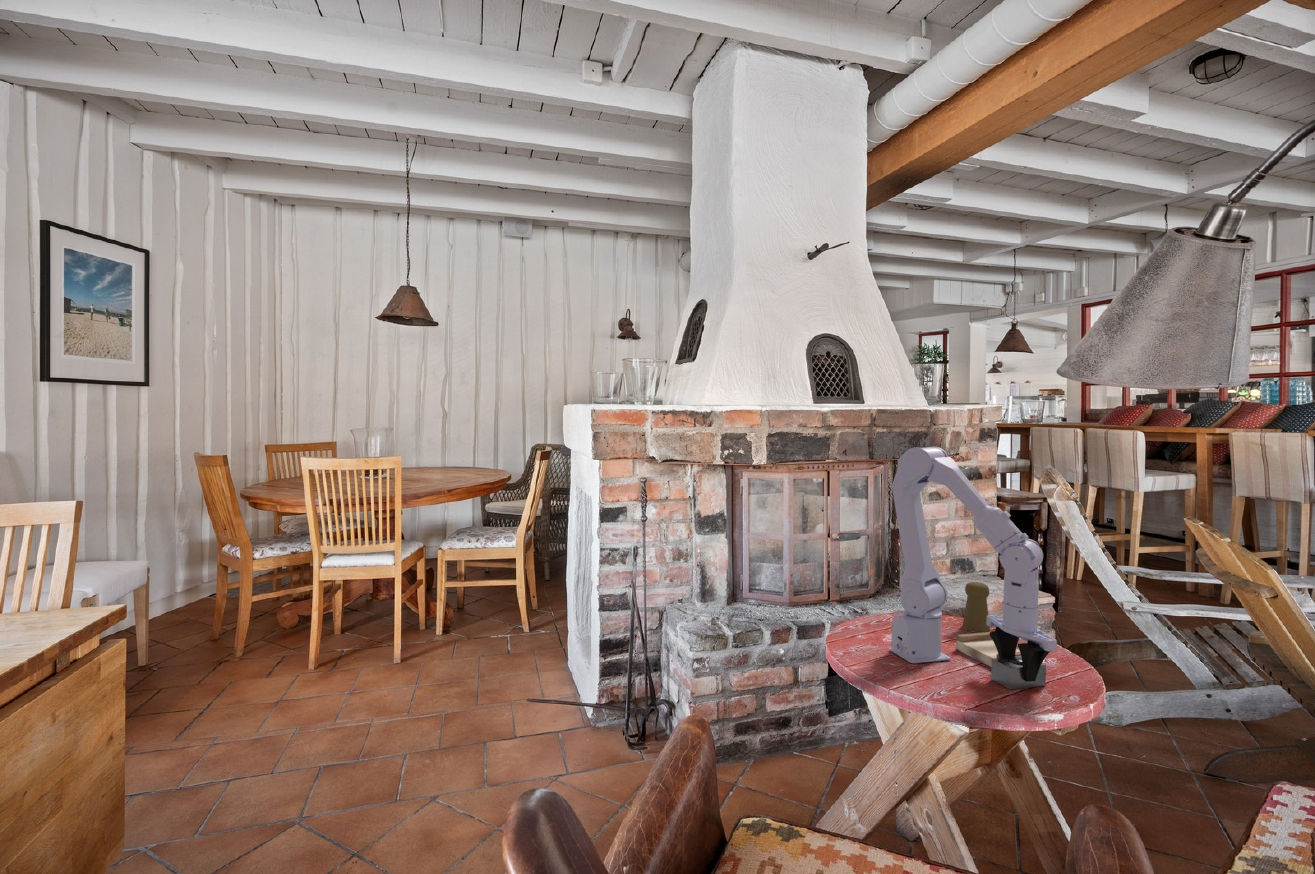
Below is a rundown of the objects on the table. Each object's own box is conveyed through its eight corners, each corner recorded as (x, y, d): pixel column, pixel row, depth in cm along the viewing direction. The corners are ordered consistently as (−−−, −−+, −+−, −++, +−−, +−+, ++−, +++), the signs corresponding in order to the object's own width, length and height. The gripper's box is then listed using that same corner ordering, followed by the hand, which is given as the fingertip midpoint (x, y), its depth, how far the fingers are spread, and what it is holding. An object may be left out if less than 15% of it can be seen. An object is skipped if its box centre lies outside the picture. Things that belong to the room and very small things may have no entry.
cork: (995, 632, 146) (996, 586, 145) (969, 632, 146) (970, 586, 145) (982, 624, 152) (983, 579, 151) (957, 623, 152) (958, 579, 151)
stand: (1038, 668, 125) (1038, 652, 125) (1000, 672, 123) (1001, 656, 123) (991, 646, 137) (991, 631, 137) (956, 649, 135) (956, 634, 135)
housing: (1010, 689, 115) (1010, 666, 115) (991, 679, 119) (991, 657, 119) (1045, 685, 117) (1046, 662, 116) (1025, 675, 121) (1026, 653, 121)
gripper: (1071, 614, 111) (1069, 689, 112) (1007, 592, 125) (1006, 658, 126) (1039, 617, 110) (1037, 692, 110) (978, 594, 124) (976, 661, 124)
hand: (1018, 674), depth 118 cm, fingers closed on housing, 5 cm apart
